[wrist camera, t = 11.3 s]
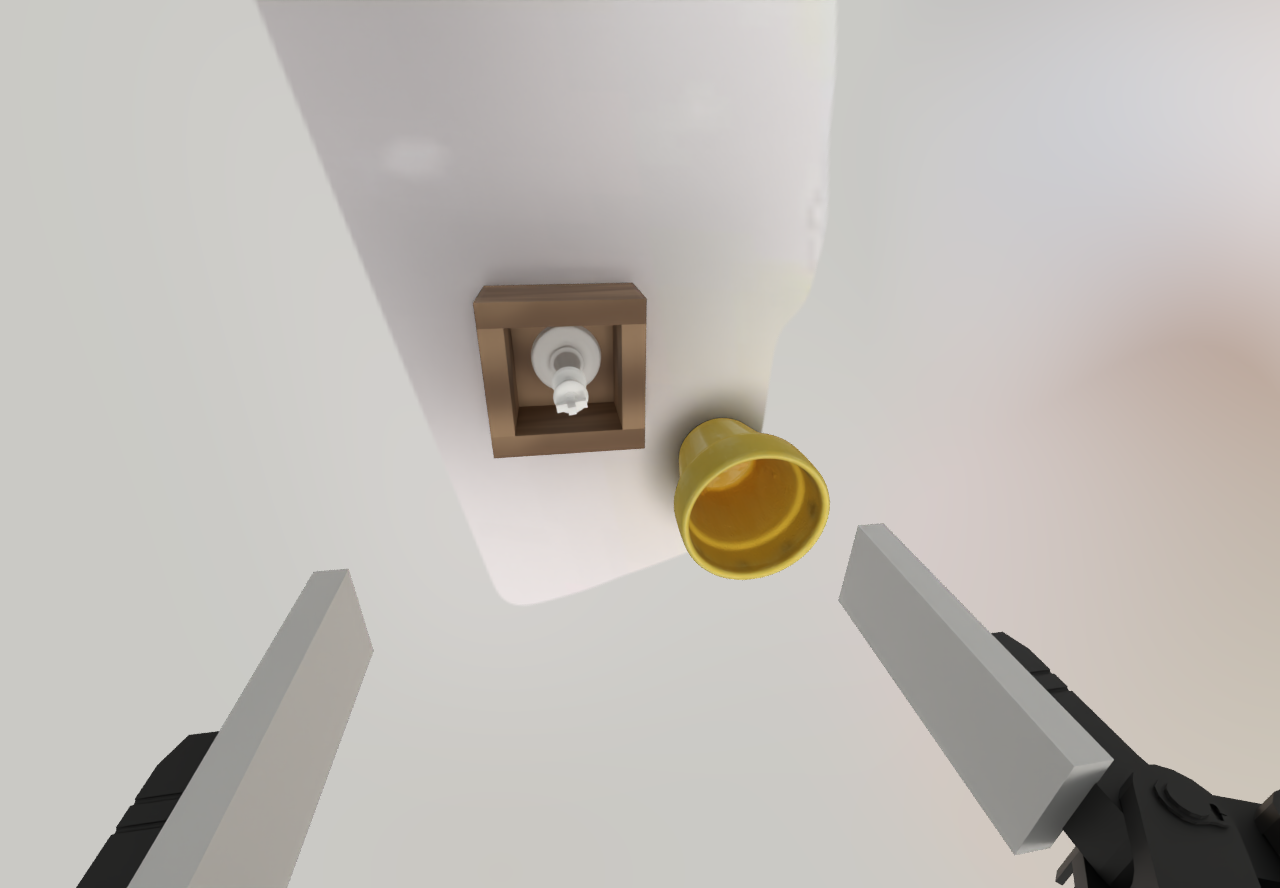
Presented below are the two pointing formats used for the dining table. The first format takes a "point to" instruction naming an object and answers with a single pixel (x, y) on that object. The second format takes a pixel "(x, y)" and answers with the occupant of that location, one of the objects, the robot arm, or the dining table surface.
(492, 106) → the dining table surface
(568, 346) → the chess piece
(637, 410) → the walnut holder
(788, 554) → the plant pot
